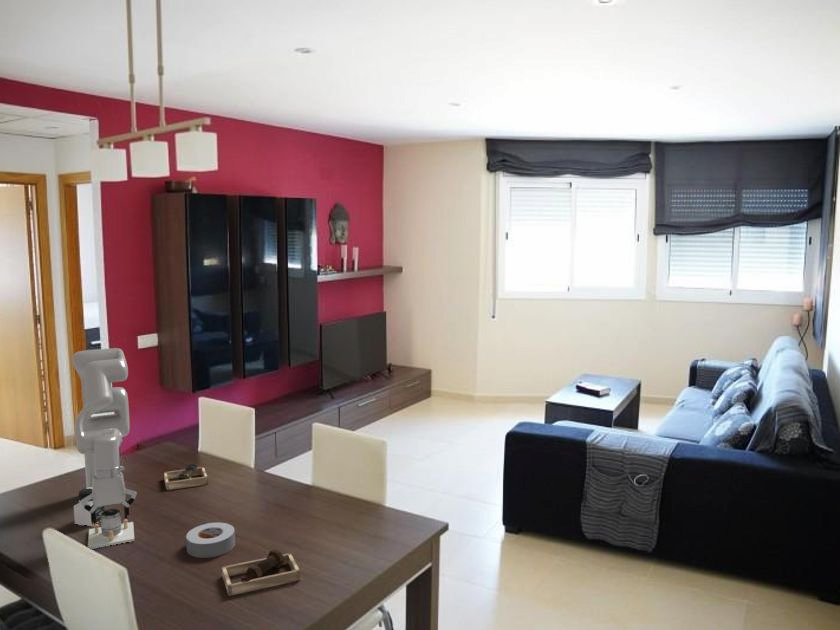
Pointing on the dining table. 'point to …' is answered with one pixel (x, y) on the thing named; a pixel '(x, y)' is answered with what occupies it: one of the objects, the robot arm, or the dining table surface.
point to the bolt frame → (258, 582)
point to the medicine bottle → (82, 514)
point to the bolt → (264, 566)
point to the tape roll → (210, 540)
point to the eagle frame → (186, 482)
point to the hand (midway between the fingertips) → (110, 519)
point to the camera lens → (111, 522)
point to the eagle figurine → (187, 472)
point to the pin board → (110, 536)
